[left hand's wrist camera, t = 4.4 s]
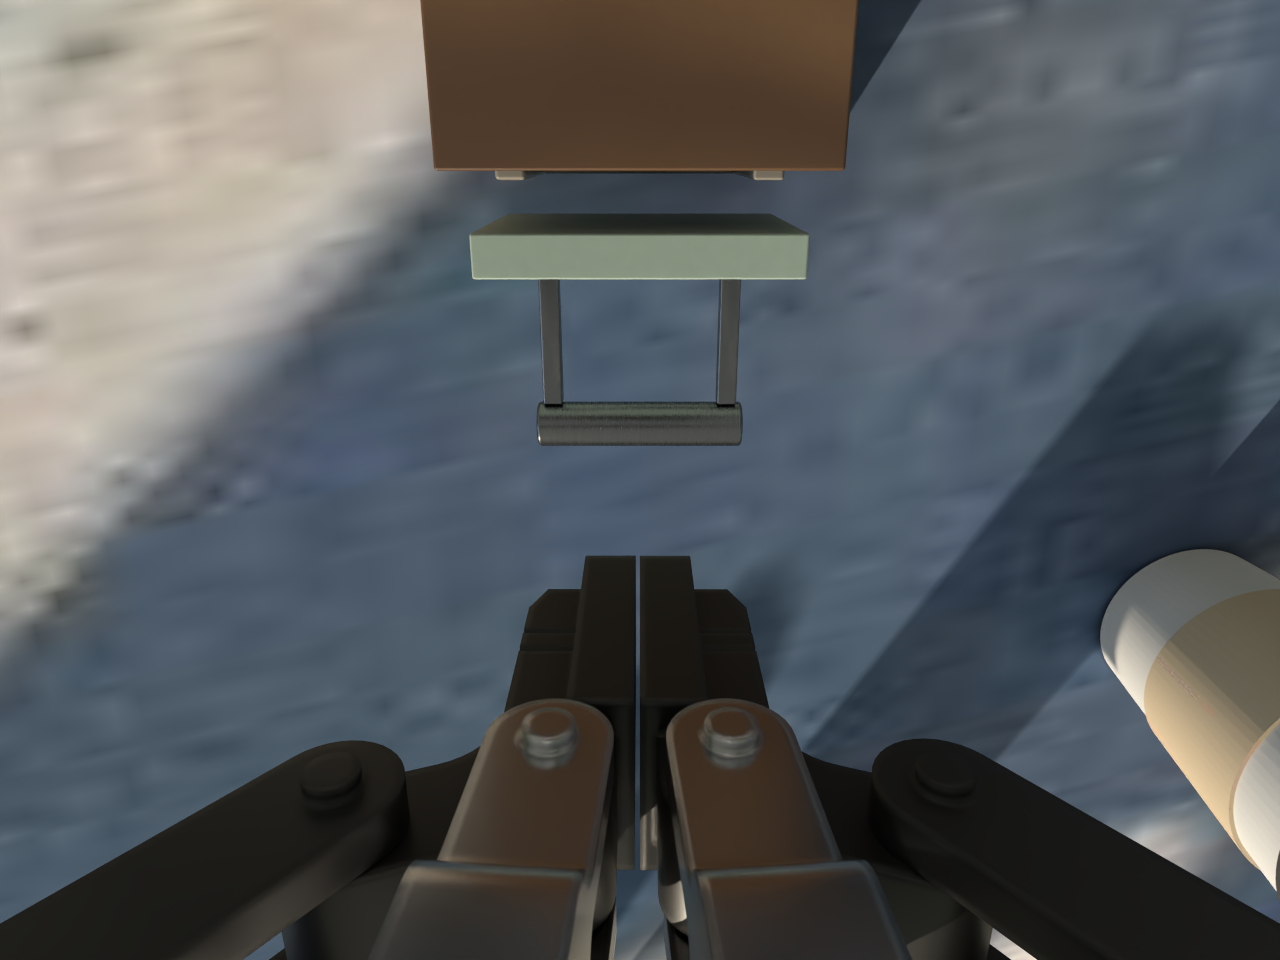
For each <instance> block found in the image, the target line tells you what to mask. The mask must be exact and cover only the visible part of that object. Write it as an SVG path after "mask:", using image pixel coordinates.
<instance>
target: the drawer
mask: <svg viewBox="0 0 1280 960" xmlns="http://www.w3.org/2000/svg"><path fill="white" fill-rule="evenodd" d="M544 173H734V174H738V175H741V176H745V177H748V178H751V179H755V180H782V179H783V178H784V171H495V176H496V178H497V179H498V180H524V179H527V178H531V177H534V176H537V175H541V174H544ZM809 238H810V235H809V234H808V233H806V232H804V231H802V230H800V229H798V228H796V227H795V226H793V225H791V224H789V223H787V222H785V221H783V220H781V219H779V218H777V217H775V216H774V215H772V214H508V215H506V216H504V217H502V218H500V219H498V220H496V221H494V222H492V223H490V224H489V225H487V226H485V227H483V228H481V229H479V230H477V231H475V232H473V233H471V234H470V250H471V264H472V277H473V279H538V281H539V305H540V329H541V353H542V377H543V401H544V402H540V403H539V405H538V409H537V437H538V442H539V445H541V446H738V445H740V443H741V439H742V427H743V418H742V407H741V404H740V402H736V386H737V362H738V337H739V313H740V289H741V279H806V278H807V267H808V253H809ZM560 279H720V280H719V311H718V342H717V373H716V402H563V399H564V394H563V364H562V334H561V303H560Z"/></svg>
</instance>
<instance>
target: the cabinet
mask: <svg viewBox="0 0 1280 960" xmlns="http://www.w3.org/2000/svg"><path fill="white" fill-rule="evenodd" d="M420 1H421V13H422V26H423V38H424V50H425V63H426V75H427V88H428V100H429V112H430V125H431V137H432V149H433V162H434V169H435V170H437V171H842V170H844V169H845V163H846V151H847V138H848V126H849V113H850V101H851V88H852V76H853V63H854V51H855V39H856V26H857V14H858V1H859V0H420Z"/></svg>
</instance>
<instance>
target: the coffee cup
mask: <svg viewBox="0 0 1280 960" xmlns="http://www.w3.org/2000/svg"><path fill="white" fill-rule="evenodd" d="M1100 641H1101V648H1102V652H1103V655H1104V657H1105V660H1106V661H1107V663H1108V665H1109V666H1110V668H1111V669H1112V670H1113V672H1114V673H1115V674H1116V676H1117V677H1118V678H1119V680H1120V681H1121V682H1122V684H1123V685H1124V686H1125V688H1126V689H1127V691H1128V692H1129V693H1130V695H1131V696H1132V697H1133V699H1134V700H1135V701H1136V703H1137V704H1138V705H1139V707H1140V708H1141V709H1142V711H1143V712H1144V713H1145V715H1146V717H1147V720H1148V723H1149V725H1150V727H1151V729H1152V730H1153V732H1154V733H1155V735H1156V736H1157V737H1158V739H1159V740H1160V741H1161V743H1162V744H1163V746H1164V747H1165V748H1166V750H1167V751H1168V752H1169V754H1170V755H1171V756H1172V758H1173V759H1174V761H1175V762H1176V763H1177V765H1178V766H1179V767H1180V769H1181V770H1182V771H1183V773H1184V774H1185V775H1186V777H1187V778H1188V780H1189V781H1190V782H1191V784H1192V785H1193V786H1194V788H1195V789H1196V790H1197V792H1198V793H1199V795H1200V796H1201V797H1202V799H1203V800H1204V801H1205V803H1206V804H1207V805H1208V807H1209V808H1210V810H1211V811H1212V812H1213V814H1214V815H1215V816H1216V818H1217V819H1218V820H1219V822H1220V823H1221V825H1222V826H1223V827H1224V829H1225V830H1226V831H1227V833H1228V834H1229V835H1230V837H1231V838H1232V839H1233V841H1234V842H1235V844H1236V845H1237V846H1238V848H1239V849H1240V850H1241V852H1242V853H1243V854H1244V856H1245V857H1246V858H1247V859H1248V860H1249V861H1250V862H1251V863H1252V864H1253V865H1254V866H1255V867H1257V868H1258V869H1259V870H1261V871H1262V872H1263V874H1264V875H1265V876H1266V878H1267V879H1268V880H1269V882H1270V883H1271V884H1272V886H1273V887H1274V888H1275V890H1276V891H1277V895H1278V899H1279V902H1280V579H1278V578H1276V577H1274V576H1272V575H1271V574H1269V573H1267V572H1265V571H1263V570H1262V569H1260V568H1258V567H1256V566H1254V565H1253V564H1251V563H1249V562H1247V561H1245V560H1244V559H1242V558H1240V557H1238V556H1236V555H1233V554H1231V553H1228V552H1224V551H1219V550H1211V549H1197V550H1189V551H1183V552H1179V553H1175V554H1172V555H1169V556H1166V557H1164V558H1161V559H1159V560H1157V561H1155V562H1153V563H1151V564H1150V565H1148V566H1146V567H1145V568H1143V569H1142V570H1140V571H1139V572H1137V573H1136V574H1135V575H1134V576H1132V577H1131V578H1130V579H1129V580H1128V581H1127V582H1126V583H1125V584H1124V585H1123V586H1122V587H1121V588H1120V589H1119V591H1118V592H1117V593H1116V595H1115V596H1114V597H1113V599H1112V600H1111V602H1110V604H1109V606H1108V608H1107V610H1106V612H1105V615H1104V618H1103V621H1102V625H1101V632H1100Z"/></svg>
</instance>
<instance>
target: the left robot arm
mask: <svg viewBox="0 0 1280 960" xmlns="http://www.w3.org/2000/svg"><path fill="white" fill-rule="evenodd" d="M635 727H636V556H586V557H585V564H584V572H583V579H582V587H581V589H548V590H547V591H546V592H545V593H544V594H543V595H542V596H541V597H540V598H539V599H538V600H537V601H536V602H535V603H534V604H533V605H532V606H530V607H529V611H528V615H527V620H526V624H525V628H524V633H523V636H522V640H521V644H520V651H519V653H518V657H517V661H516V665H515V669H514V674H513V678H512V682H511V686H510V690H509V694H508V699H507V703H506V707H505V711H504V713H503V714H501V715H500V716H499V717H498V718H497V719H495V720H494V721H493V723H492V724H491V725H490V726H489V728H488V730H487V732H486V734H485V736H484V739H483V741H482V744H481V746H480V747H478V748H477V749H475V750H474V751H472V752H470V753H468V754H466V755H464V756H462V757H459V758H457V759H454V760H451V761H448V762H445V763H441V764H437V765H433V766H429V767H424V768H420V769H415V770H411V771H406V772H405V770H404V766H403V763H402V761H401V759H400V758H399V757H398V755H397V754H396V753H394V752H393V751H392V750H391V749H389V748H387V747H385V746H383V745H380V744H377V743H373V742H367V741H340V742H334V743H328V744H325V745H321V746H318V747H315V748H312V749H309V750H307V751H304V752H302V753H300V754H298V755H296V756H294V757H293V758H291V759H289V760H287V761H285V762H284V763H282V764H280V765H278V766H277V767H275V768H273V769H271V770H270V771H268V772H266V773H264V774H263V775H261V776H259V777H257V778H256V779H254V780H252V781H250V782H249V783H247V784H245V785H243V786H242V787H240V788H238V789H236V790H235V791H233V792H231V793H229V794H227V795H226V796H224V797H222V798H220V799H219V800H217V801H215V802H213V803H212V804H210V805H208V806H206V807H205V808H203V809H201V810H199V811H198V812H196V813H194V814H192V815H191V816H189V817H187V818H185V819H184V820H182V821H180V822H178V823H176V824H175V825H173V826H171V827H169V828H168V829H166V830H164V831H162V832H161V833H159V834H157V835H155V836H154V837H152V838H150V839H148V840H147V841H145V842H143V843H141V844H140V845H138V846H136V847H134V848H133V849H131V850H129V851H127V852H125V853H124V854H122V855H120V856H118V857H117V858H115V859H113V860H111V861H110V862H108V863H106V864H104V865H103V866H101V867H99V868H97V869H96V870H94V871H92V872H90V873H89V874H87V875H85V876H83V877H82V878H80V879H78V880H76V881H75V882H73V883H71V884H69V885H67V886H66V887H64V888H62V889H60V890H59V891H57V892H55V893H53V894H52V895H50V896H48V897H46V898H45V899H43V900H41V901H39V902H38V903H36V904H34V905H32V906H31V907H29V908H27V909H25V910H24V911H22V912H20V913H18V914H16V915H15V916H13V917H11V918H9V919H8V920H6V921H4V922H2V923H1V924H0V960H243V959H244V958H246V957H247V956H248V955H250V954H251V953H253V952H254V951H255V950H257V949H258V948H259V947H261V946H262V945H264V944H265V943H266V942H268V941H269V940H271V939H272V938H273V937H275V936H276V935H277V934H279V933H280V932H282V936H283V941H284V946H285V948H284V949H283V950H281V951H280V952H279V953H277V954H276V955H275V956H273V957H272V958H271V959H269V960H613V957H614V948H615V940H616V876H617V870H634V855H635ZM640 870H658V897H659V903H660V906H661V908H662V911H663V913H664V940H665V948H666V957H667V960H1011V959H1009V958H1008V957H1007V956H1005V955H1004V954H1003V953H1001V952H1000V951H999V950H997V949H996V948H994V947H993V946H992V945H990V939H991V934H992V928H994V929H996V930H997V931H998V932H1000V933H1001V934H1003V935H1004V936H1005V937H1007V938H1008V939H1009V940H1011V941H1012V942H1014V943H1015V944H1016V945H1018V946H1019V947H1021V948H1022V949H1023V950H1025V951H1026V952H1027V953H1029V954H1030V955H1032V956H1033V957H1034V958H1036V959H1037V960H1280V924H1279V923H1278V922H1276V921H1274V920H1272V919H1271V918H1269V917H1267V916H1265V915H1263V914H1262V913H1260V912H1258V911H1256V910H1255V909H1253V908H1251V907H1249V906H1248V905H1246V904H1244V903H1242V902H1241V901H1239V900H1237V899H1235V898H1234V897H1232V896H1230V895H1228V894H1227V893H1225V892H1223V891H1221V890H1220V889H1218V888H1216V887H1214V886H1212V885H1211V884H1209V883H1207V882H1205V881H1204V880H1202V879H1200V878H1198V877H1197V876H1195V875H1193V874H1191V873H1190V872H1188V871H1186V870H1184V869H1183V868H1181V867H1179V866H1177V865H1176V864H1174V863H1172V862H1170V861H1169V860H1167V859H1165V858H1163V857H1162V856H1160V855H1158V854H1156V853H1154V852H1153V851H1151V850H1149V849H1147V848H1146V847H1144V846H1142V845H1140V844H1139V843H1137V842H1135V841H1133V840H1132V839H1130V838H1128V837H1126V836H1125V835H1123V834H1121V833H1119V832H1118V831H1116V830H1114V829H1112V828H1111V827H1109V826H1107V825H1105V824H1103V823H1102V822H1100V821H1098V820H1096V819H1095V818H1093V817H1091V816H1089V815H1088V814H1086V813H1084V812H1082V811H1081V810H1079V809H1077V808H1075V807H1074V806H1072V805H1070V804H1068V803H1067V802H1065V801H1063V800H1061V799H1060V798H1058V797H1056V796H1054V795H1052V794H1051V793H1049V792H1047V791H1045V790H1044V789H1042V788H1040V787H1038V786H1037V785H1035V784H1033V783H1031V782H1030V781H1028V780H1026V779H1024V778H1023V777H1021V776H1019V775H1017V774H1016V773H1014V772H1012V771H1010V770H1009V769H1007V768H1005V767H1003V766H1002V765H1000V764H998V763H996V762H994V761H993V760H991V759H989V758H987V757H986V756H984V755H982V754H980V753H978V752H976V751H974V750H972V749H970V748H967V747H964V746H962V745H959V744H955V743H951V742H947V741H942V740H936V739H911V740H905V741H901V742H898V743H894V744H892V745H890V746H888V747H887V748H885V749H884V750H883V751H881V752H880V753H879V755H878V756H877V757H876V759H875V761H874V764H873V767H872V773H871V772H866V771H862V770H857V769H853V768H848V767H844V766H839V765H835V764H832V763H828V762H824V761H822V760H819V759H816V758H814V757H811V756H809V755H808V754H806V753H804V752H802V751H801V749H800V747H799V744H798V741H797V739H796V736H795V734H794V732H793V730H792V728H791V726H790V725H789V724H788V723H787V721H786V720H785V719H783V718H782V717H781V716H780V715H779V714H777V713H776V712H774V711H772V710H771V709H769V705H768V701H767V696H766V692H765V688H764V683H763V679H762V675H761V670H760V666H759V662H758V657H757V653H756V651H755V644H754V640H753V636H752V633H751V627H750V623H749V618H748V614H747V610H746V607H745V606H744V605H743V604H742V603H741V602H740V601H739V600H738V599H737V598H735V597H734V596H733V595H732V594H731V593H730V592H729V591H728V590H727V589H694V584H693V576H692V568H691V560H690V556H640Z"/></svg>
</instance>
